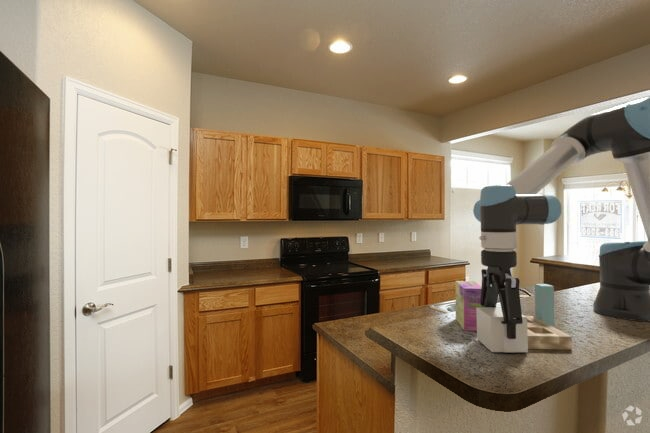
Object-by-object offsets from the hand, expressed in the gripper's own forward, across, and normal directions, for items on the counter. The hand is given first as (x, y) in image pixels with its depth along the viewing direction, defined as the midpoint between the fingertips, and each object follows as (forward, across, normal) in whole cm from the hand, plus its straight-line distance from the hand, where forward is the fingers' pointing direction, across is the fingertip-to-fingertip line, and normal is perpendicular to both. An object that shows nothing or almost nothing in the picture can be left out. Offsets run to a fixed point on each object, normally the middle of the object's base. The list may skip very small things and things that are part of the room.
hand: (499, 343), depth 76 cm
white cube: (0, 0, 0) cm, 0 cm away
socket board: (+1, -7, +11) cm, 13 cm away
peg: (+1, -14, +19) cm, 23 cm away
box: (+1, -15, -1) cm, 15 cm away
